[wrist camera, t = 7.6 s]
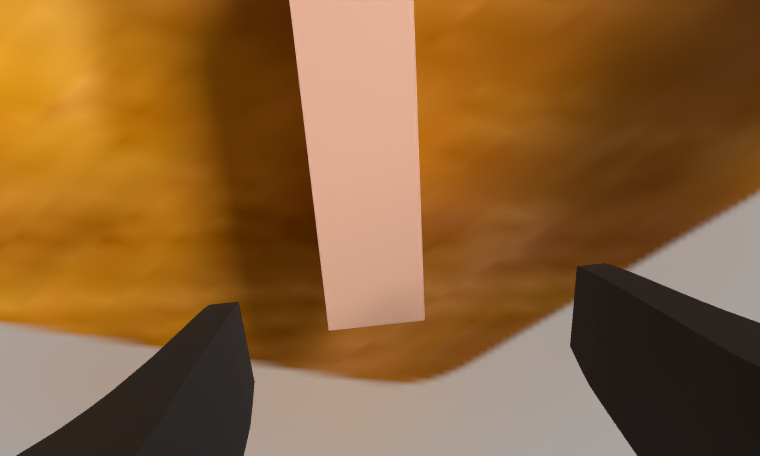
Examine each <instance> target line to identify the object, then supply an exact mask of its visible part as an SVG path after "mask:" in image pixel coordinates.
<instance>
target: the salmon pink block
mask: <svg viewBox="0 0 760 456" xmlns="http://www.w3.org/2000/svg"><path fill="white" fill-rule="evenodd" d="M289 1H290V10H291V18H292V26H293V35H294V43H295V52H296V60H297V68H298V77H299V85H300V94H301V102H302V110H303V119H304V127H305V136H306V144H307V152H308V161H309V169H310V177H311V186H312V194H313V203H314V211H315V219H316V228H317V236H318V245H319V253H320V261H321V270H322V278H323V287H324V295H325V303H326V312H327V320H328V329H329V331H330V330H339V329H348V328H357V327H367V326H376V325H385V324H395V323H404V322H413V321H423V320H425V312H424V284H423V256H422V228H421V199H420V171H419V143H418V114H417V86H416V58H415V30H414V1H413V0H289Z"/></svg>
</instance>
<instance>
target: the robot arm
mask: <svg viewBox="0 0 760 456" xmlns="http://www.w3.org/2000/svg"><path fill="white" fill-rule="evenodd" d="M570 347H571V349H572V351H573V353H574V355H575V357H576V359H577V362H578V363H579V366H580V368H581V370H582V372H583V374H584V376H585V378H586V380H587V382H588V383H589V385H590V387H591V388H592V390H593V391H594V393H595V395H596V396H597V398H598V399H599V401H600V402H601V403H602V405H603V406H604V408H605V409H606V411H607V412H608V414H609V415H610V417H611V418H612V420H613V421H614V423H615V424H616V425H617V427H618V428H619V430H620V431H621V433H622V434H623V436H624V437H625V439H626V440H627V441H628V443H629V444H630V446H631V447H632V449H633V450H634V452H635V453H636V454H637V456H760V323H758V322H756V321H753V320H750V319H747V318H745V317H741V316H739V315H736V314H733V313H731V312H728V311H725V310H722V309H720V308H717V307H715V306H712V305H710V304H707V303H705V302H702V301H700V300H697V299H695V298H692V297H690V296H687V295H685V294H682V293H680V292H678V291H675V290H673V289H670V288H668V287H666V286H663V285H661V284H658V283H656V282H654V281H651V280H649V279H646V278H644V277H641V276H639V275H637V274H634V273H632V272H629V271H626V270H624V269H621V268H618V267H615V266H612V265H609V264H605V263H604V264H595V265H585V266H577V274H576V285H575V296H574V308H573V320H572V331H571V342H570ZM253 392H254V377H253V372H252V367H251V362H250V357H249V352H248V347H247V342H246V337H245V332H244V327H243V322H242V317H241V312H240V307H239V302H232V303H223V304H213V305H208V306H207V307H206V308H204V309H203V310H202V311H201V312H200V313H199V314H198V315H197V316H196V317H194V318H193V319H192V320H191V321H190V322H189V323H188V324H187V325H186V326H185V327H184V328H183V329H182V330H181V331H180V332H179V333H178V334H177V335H175V336H174V337H173V338H172V339H171V340H170V341H169V342H168V343H167V344H166V345H165V346H164V347H162V348H161V349H160V350H159V351H158V352H157V353H156V354H155V355H154V356H153V357H152V358H151V359H149V360H148V361H147V362H146V363H145V364H144V365H142V366H141V367H140V368H139V369H137V370H136V371H135V372H134V373H133V374H132V375H130V376H129V377H128V378H127V379H126V380H124V381H123V382H122V383H121V384H120V385H118V386H117V387H116V388H115V389H114V390H112V391H111V392H110V393H109V394H107V395H106V396H105V397H104V398H102V399H101V400H100V401H98V402H97V403H95V404H94V405H93V406H92V407H90V408H89V409H87V410H86V411H85V412H83V413H82V414H80V415H79V416H77V417H76V418H75V419H73V420H72V421H71V422H69V423H68V424H66V425H65V426H63V427H62V428H60V429H59V430H57V431H56V432H54V433H53V434H51V435H49V436H48V437H46V438H44V439H43V440H41V441H40V442H38V443H36V444H35V445H33V446H31V447H30V448H28V449H26V450H25V451H23V452H22V453H20V454H18V455H17V456H244V451H245V447H246V443H247V438H248V434H249V429H250V424H251V414H252V405H253Z"/></svg>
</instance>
